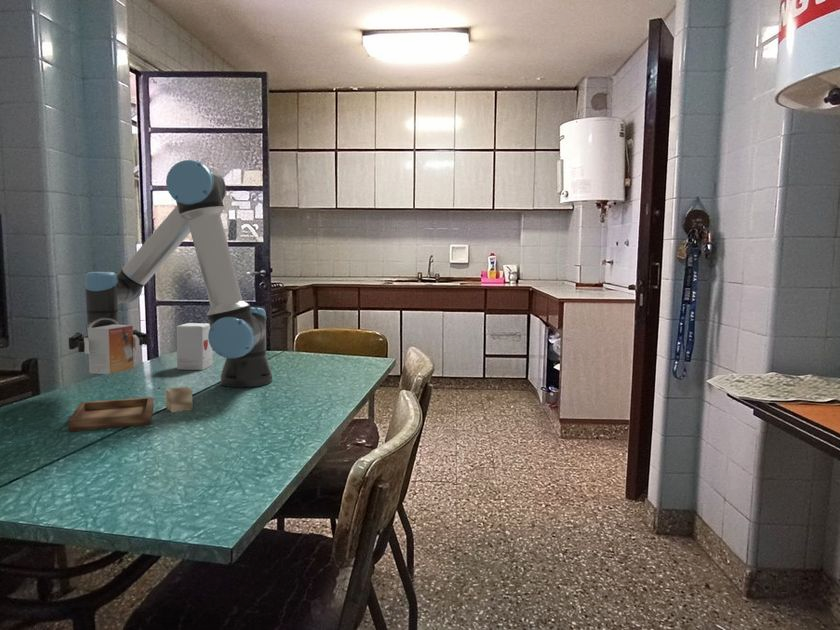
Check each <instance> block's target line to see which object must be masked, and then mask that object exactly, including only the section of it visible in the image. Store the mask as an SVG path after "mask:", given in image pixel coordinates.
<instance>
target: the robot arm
mask: <svg viewBox="0 0 840 630" xmlns="http://www.w3.org/2000/svg"><path fill="white" fill-rule="evenodd" d="M165 179H166V181H165V183H166V189H167V192H168V193H169V194H170V197H172V199H173V200H174V201H175V202H176V206H175V207H174V208H173V209H172V211H171V212H170V213H169V214H168V215H167V216H166V217H165V218H164V220H162V222H161V223H160V225H159V226H158V227H157V228H156V229H155V230H154V231H153V233H152V234H151V235H150V236H149V237H148V238H147V239H146V241H145V242H144V243H143V244H142V245H141V246H140V248H138V250H137V251H136V252H135V254H134V255H133V256H132V257H131V258H130V259H129V260H128V262H126V264H124V266H123V267H122V269H121V270H120V271H119V272H118V273H117V274H116V273H115V272H114V271H89V272H87V273H85V274H86V275H85V284H84V288H85V303H86V304H85V306H86V307H85V308H86V314H85V315H86V325H85V327H86V329H85V330H86V335H85V333H83V332H78V331H77V332H75V334H74V335H72V336H70V337H68V349H69V350H74V349H77V348H78V349H77V350H78V351H77V352H78V353H85V355H87V354H88V355H89V340H88V328H95V327H102V326H108V325H113V324H115V325H120V324H119V304H124V303H125V304H126V303H132V302H134V301H135V300H137V299H138V298H139V297H140V296H141V295H142V291H143V288H144V286H145V285H146V284H147V283H148V282H149V281H150V279H151V278H152V277H153V276H154V275H155V274H156V273H157V272H158V270H159V269H160V268H161V267H162V266H163V265H164V264H165V262H166V261H167V260H168V259H169V258H170V257H171V255H172V254H173V253H174V252H175V251H176V250H177V249H178V248H179V246H180V245H181V244H182V243H183V242H184V241H185V239H187V237H188V236H189V235H190V236H191V238H192V243H193V246H194V248H195V249H194V251H195V253H196V257H197V260H198V264H199V265H198V266H199V268H200V272H201V276H202V279H203V283H204V287H205V290H206V294H207V298H208V301H209V302H208V303H209V306H210V308H209V310H208V311H207V313H206V317H207V321H208V324H209V325H210V330H209V334H208V340H209V344H210V346H211V348H212V351H213V352H214V353H216V354H217V355H218V356H220V357H222V358H225V360H224V364H223V368H222V372H221V374H220V384H221V385H222V386H226V387H229V388H230V387H231V388H252V387H260V386H266V385H268V384H270V383H272V381H273V373H272V370H271V367H270V363H269V361H268V358H267V316H266V315H267V313H266V310H265V309H264V308H262V307H251V305H250V303H248V302H246V301H245V300H244V299H243V297H242V293H241V289H240V285H239V282H238V279H237V273H236V271H235V266H234V262H233V259H232V254H231V251H230V248H229V244H228V239H227V235H226V233H225V229H224V224H223V221H222V217H221V215H222V213H223V211H224V210H225V205H224V200H225V197H226V193H227V186H226V182H225V180H224V178H223V176H222V175H221V174H220V173H219V172H218V171H217V170H215V169H213V168H211V167H209V166H208V165H206V164H205V163H203V162H201V161H198V160H193V159H186V160H181V161H178V162H177V163H175V164H173V166H172V167H170V169H169V171H168V173H167V175H166V178H165ZM149 340H150V337H149V333H145V332H141V331H138V329H133V350H135V351H140V346H144V345H145V346H148V345H150V341H149Z"/></svg>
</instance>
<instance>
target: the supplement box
mask: <svg viewBox="0 0 840 630" xmlns="http://www.w3.org/2000/svg"><path fill="white" fill-rule="evenodd" d="M209 330H210V325H209V322H208V323H206V322H205V323H202V322H200V323H199V322H198V323H196V322H187V323H183V324H180V325H176V369H177V370H183V371H184V370H186V371H187V370H190V371H204V370H205V369H208V368H210V367H211V366H213V349H212V348H211V346H210V344H209V340H208V334H209Z"/></svg>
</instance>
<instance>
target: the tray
mask: <svg viewBox="0 0 840 630" xmlns="http://www.w3.org/2000/svg"><path fill="white" fill-rule="evenodd" d="M154 402H155V401H154V396H150V397H149V396H148V397H135V398H123V399H107V400H93V401H80V402H79V404H78V405H77V407H76V408H75V410H74V411H73V413H72V414H71V416H70V417H69V419H68V421H67V424H68V425H67V426H68V432H69V433H72V432H74V433H75V432H82V431H84V430H85V431H94V430H105V429H115V428H118V429H119V428H125V427H126V428H129V427H137V426H140V427H141V426H146V425H147V426H149V425H151V424H152V419H153V413H154V408H155V407H154V406H155V403H154ZM85 431H84V432H85Z"/></svg>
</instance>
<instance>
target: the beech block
mask: <svg viewBox="0 0 840 630" xmlns="http://www.w3.org/2000/svg"><path fill="white" fill-rule="evenodd" d="M165 409H166V410H168V411H169V410H170V411H171V412H172V413H175V412H174V411H179V412H182V411H181V410H186V411H188V410H187V409H193V390H192V389H190V388H189V387H188V386H180V387H179V386H178V387H171V388H165ZM170 411H169V412H170ZM171 412H170V413H171Z"/></svg>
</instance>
